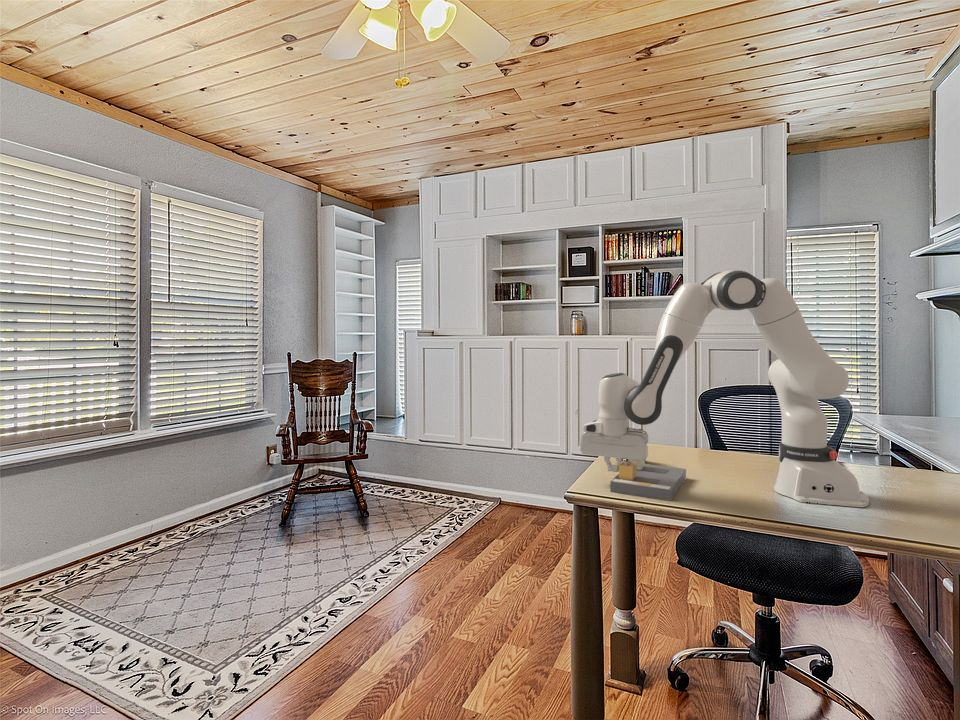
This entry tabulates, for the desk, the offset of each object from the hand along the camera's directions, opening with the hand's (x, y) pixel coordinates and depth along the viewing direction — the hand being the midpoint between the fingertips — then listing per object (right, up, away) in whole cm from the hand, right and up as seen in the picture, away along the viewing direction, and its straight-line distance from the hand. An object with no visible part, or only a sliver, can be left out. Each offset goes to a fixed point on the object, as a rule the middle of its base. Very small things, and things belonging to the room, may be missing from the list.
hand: (613, 471), depth 160 cm
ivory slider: (+9, 0, +8) cm, 13 cm away
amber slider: (+4, -1, -2) cm, 5 cm away
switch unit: (+11, -4, 0) cm, 12 cm away
